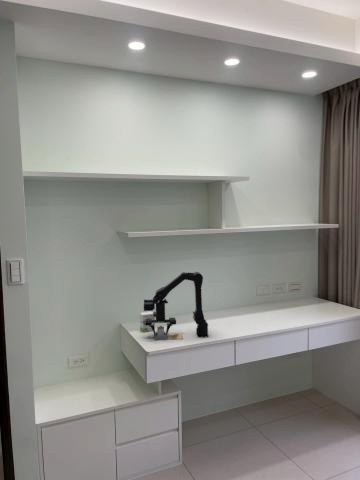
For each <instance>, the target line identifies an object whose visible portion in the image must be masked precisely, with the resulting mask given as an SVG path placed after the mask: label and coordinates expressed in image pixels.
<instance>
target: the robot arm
mask: <svg viewBox="0 0 360 480" xmlns="http://www.w3.org/2000/svg"><path fill="white" fill-rule="evenodd" d="M203 280H204V277H203V275H202V274H201V273H200V272H198V271H194V272H185V271H183V272H181V273H180V274H179V275H178V276H177V277H175V278H174V279H173V280H172V281H170V282H169V283H168V284H166V285H165V286H162V287H160V288H158V289H157V290H156V291H155V295H154V296H153V298H152V299H143V312H150V311H152V312H153V317H155V320H152V318H148V319H145V325H146V326H148V325H149V327H151V328H152V330H153V331H152V332H153V336H154V335H155V334H156V328H154V323H155V324H162V323H163V324H164V323H166V331H165V333H166V335H167V336H168V334H169V330H170V329H171V327H173V325H177V319H176V318H175V317H168V319H167V318H166V304H168V303H169V301H168V300H167V299H166V297H167V296H168V295H169V293H170V292H171V291H172V290H174V289H175V288H176V287H178V286H179V285H180V284H181V283H183V281H191V282H193V285H194V300H195V301H194V303H195V304H194V305H195V308H194V309H195V310H194V311H192V315H193V316H192V319H193V321H194V323H195V324H196V326H197V327H196V328H195V330H196V331H195V333H196V336H197V337H198V338H209V324H208V322H207V320H206V319H205V316H204V311H203V302H202V301H203V298H202V286H203Z"/></svg>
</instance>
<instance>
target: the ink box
mask: <svg viewBox="0 0 360 480" xmlns="http://www.w3.org/2000/svg"><path fill="white" fill-rule="evenodd" d="M153 312H154V311H143V312H140V313H139V321H140V322H139V324H140V325H139V326H140V328H139V329H140V332H142V333H147V332H153V330H152V328H151V327H149V325H148V326H146V325H145V319H148V318H152V320H156V317H153ZM155 324H156V323H154V328H155V327H156V325H155ZM155 329H156V328H155Z"/></svg>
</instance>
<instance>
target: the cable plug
mask: <svg viewBox="0 0 360 480" xmlns="http://www.w3.org/2000/svg"><path fill="white" fill-rule="evenodd" d="M156 332H157V336H165V335H164V332H165V327H164V326H161V325H159V326H157V330H156Z"/></svg>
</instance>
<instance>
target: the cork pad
mask: <svg viewBox="0 0 360 480" xmlns="http://www.w3.org/2000/svg"><path fill="white" fill-rule="evenodd" d="M167 337H168V341H169V340H184V336H183V333H168V334H167Z"/></svg>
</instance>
